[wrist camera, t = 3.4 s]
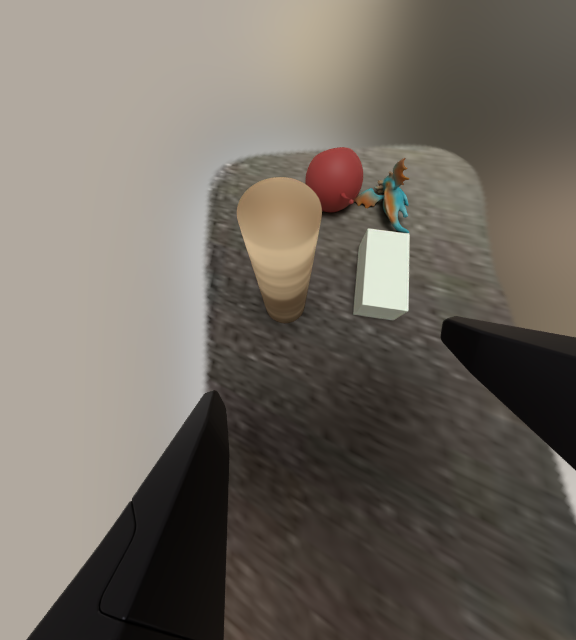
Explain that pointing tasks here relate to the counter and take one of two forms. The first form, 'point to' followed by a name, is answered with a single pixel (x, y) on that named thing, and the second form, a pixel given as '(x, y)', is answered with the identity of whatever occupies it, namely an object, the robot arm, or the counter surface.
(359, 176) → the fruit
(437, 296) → the counter surface
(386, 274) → the white block
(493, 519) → the counter surface
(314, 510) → the counter surface
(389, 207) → the dragon figurine
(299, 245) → the oak post
